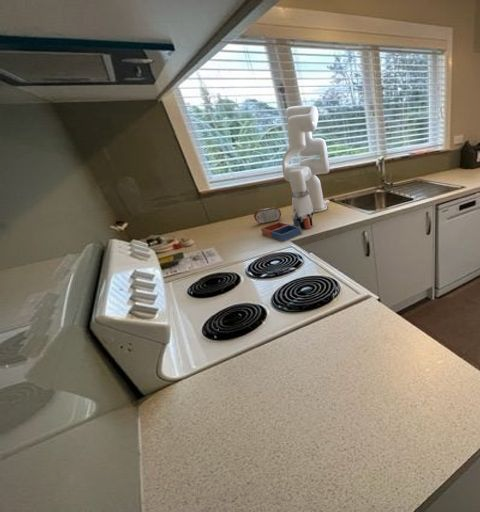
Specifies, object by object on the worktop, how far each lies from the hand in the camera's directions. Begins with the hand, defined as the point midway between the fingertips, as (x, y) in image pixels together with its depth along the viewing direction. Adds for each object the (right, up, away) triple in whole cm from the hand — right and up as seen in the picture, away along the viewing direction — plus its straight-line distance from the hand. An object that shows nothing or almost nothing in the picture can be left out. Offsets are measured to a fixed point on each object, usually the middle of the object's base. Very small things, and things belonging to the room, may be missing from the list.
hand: (306, 226), depth 161 cm
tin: (-26, +4, +14) cm, 29 cm away
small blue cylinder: (-6, +1, +5) cm, 8 cm away
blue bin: (-8, -6, -8) cm, 13 cm away
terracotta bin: (-15, -4, -3) cm, 16 cm away
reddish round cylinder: (0, -1, 0) cm, 1 cm away
